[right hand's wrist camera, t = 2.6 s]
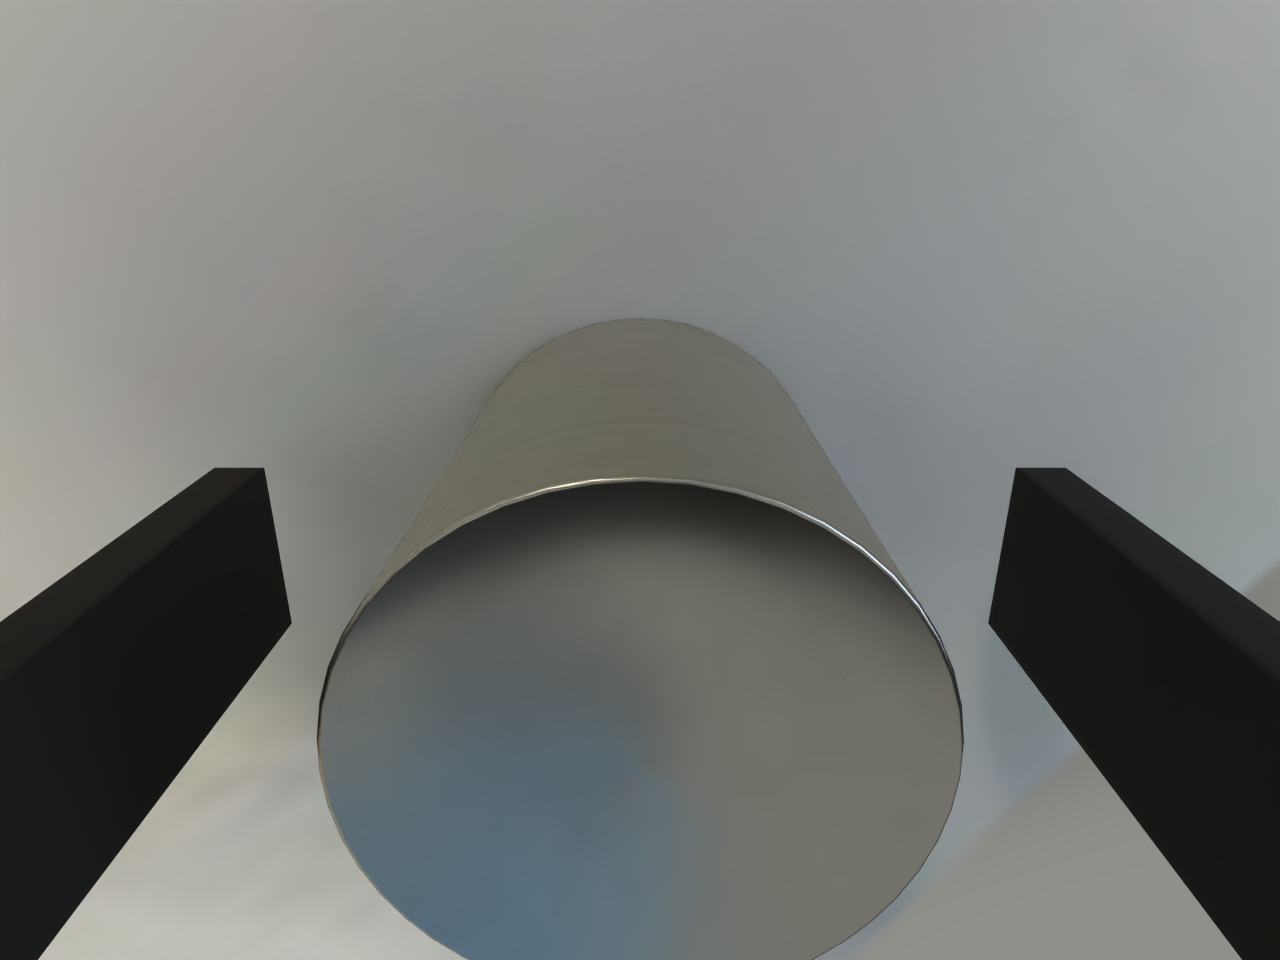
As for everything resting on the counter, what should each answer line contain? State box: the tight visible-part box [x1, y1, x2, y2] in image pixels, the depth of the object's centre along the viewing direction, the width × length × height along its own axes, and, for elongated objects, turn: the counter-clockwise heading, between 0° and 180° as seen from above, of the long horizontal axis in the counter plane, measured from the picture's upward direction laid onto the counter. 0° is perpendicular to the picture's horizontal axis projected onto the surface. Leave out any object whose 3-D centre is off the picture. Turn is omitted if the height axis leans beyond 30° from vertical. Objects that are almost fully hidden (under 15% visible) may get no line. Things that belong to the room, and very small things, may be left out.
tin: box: [317, 319, 964, 960], centre depth 12 cm, size 6×6×8 cm
